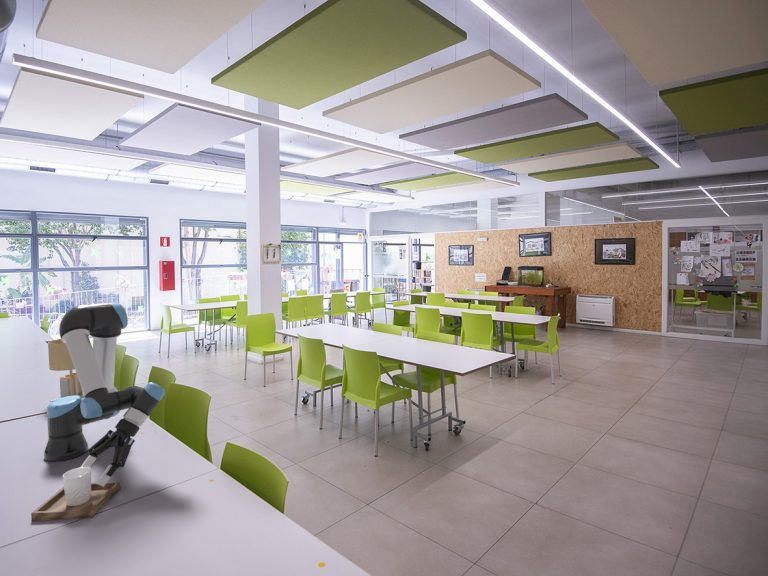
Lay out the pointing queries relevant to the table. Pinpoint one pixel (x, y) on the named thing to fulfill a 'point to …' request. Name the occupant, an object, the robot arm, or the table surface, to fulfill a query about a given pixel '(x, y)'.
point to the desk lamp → (62, 362)
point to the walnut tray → (60, 510)
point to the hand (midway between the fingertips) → (89, 479)
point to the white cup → (77, 486)
